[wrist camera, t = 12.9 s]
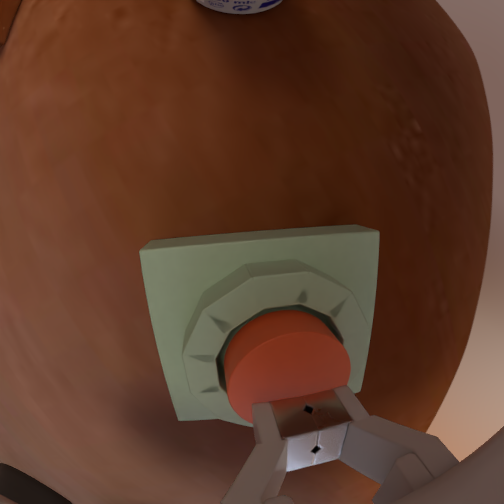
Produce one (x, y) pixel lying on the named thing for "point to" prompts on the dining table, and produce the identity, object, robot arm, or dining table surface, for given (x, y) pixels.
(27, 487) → the vase
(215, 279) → the button box
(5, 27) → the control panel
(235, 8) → the energy drink
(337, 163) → the dining table surface
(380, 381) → the dining table surface
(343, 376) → the button
